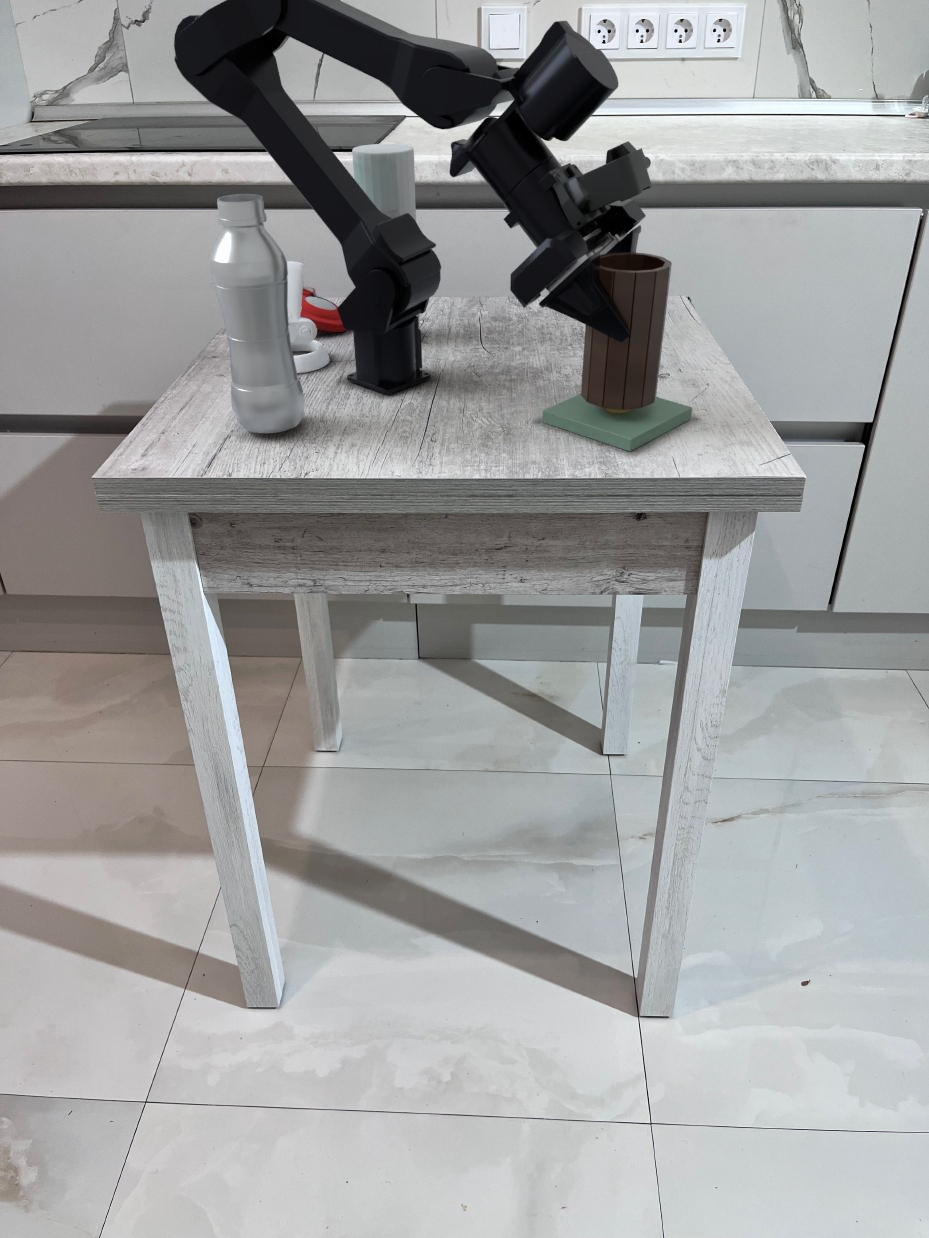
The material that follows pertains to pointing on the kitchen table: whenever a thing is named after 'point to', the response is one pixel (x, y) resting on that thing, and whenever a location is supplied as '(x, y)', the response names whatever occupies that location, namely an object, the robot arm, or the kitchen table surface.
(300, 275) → the white upright ring-based piece
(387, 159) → the spray can
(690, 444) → the kitchen table surface
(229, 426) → the kitchen table surface
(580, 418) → the peg stand
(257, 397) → the plastic bottle
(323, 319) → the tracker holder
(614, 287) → the sleeve
